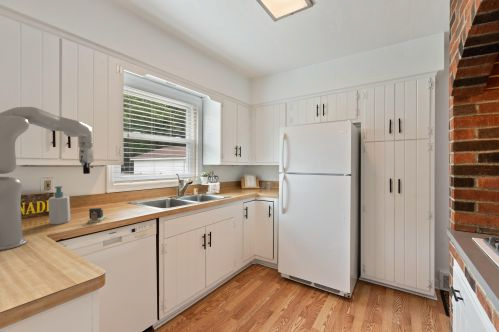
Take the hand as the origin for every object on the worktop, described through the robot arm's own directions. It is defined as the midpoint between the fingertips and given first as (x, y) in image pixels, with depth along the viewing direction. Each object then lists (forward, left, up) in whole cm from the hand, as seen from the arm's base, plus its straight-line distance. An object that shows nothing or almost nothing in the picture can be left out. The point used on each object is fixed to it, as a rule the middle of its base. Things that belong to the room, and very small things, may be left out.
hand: (86, 173), depth 155 cm
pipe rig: (+8, -8, -29) cm, 31 cm away
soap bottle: (-12, -8, -29) cm, 33 cm away
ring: (+8, -11, -27) cm, 30 cm away
